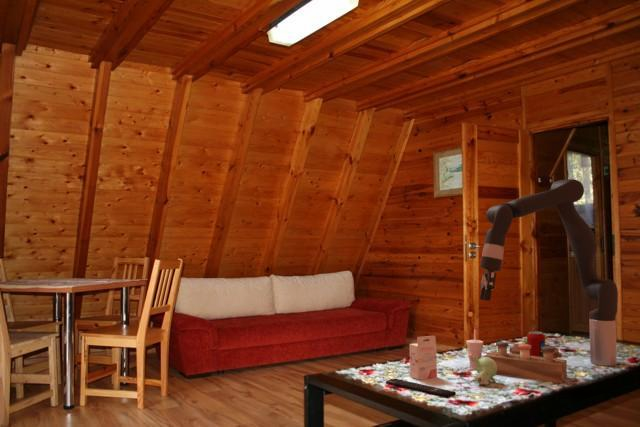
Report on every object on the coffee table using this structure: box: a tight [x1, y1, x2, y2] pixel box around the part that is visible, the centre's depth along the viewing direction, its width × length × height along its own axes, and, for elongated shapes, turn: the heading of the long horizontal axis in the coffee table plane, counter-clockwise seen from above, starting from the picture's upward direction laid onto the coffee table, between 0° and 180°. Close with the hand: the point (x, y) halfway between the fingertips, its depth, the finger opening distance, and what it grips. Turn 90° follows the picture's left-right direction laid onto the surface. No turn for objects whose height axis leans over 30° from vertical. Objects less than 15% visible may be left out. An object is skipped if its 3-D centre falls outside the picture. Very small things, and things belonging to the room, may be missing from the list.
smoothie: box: [465, 329, 484, 368], centre depth 206 cm, size 6×6×14 cm
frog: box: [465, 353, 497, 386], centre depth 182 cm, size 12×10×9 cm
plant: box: [508, 326, 560, 359], centre depth 231 cm, size 20×20×11 cm
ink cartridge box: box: [409, 335, 438, 381], centre depth 190 cm, size 9×5×15 cm, turn 117°
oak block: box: [484, 350, 568, 384], centre depth 193 cm, size 10×26×6 cm, turn 56°
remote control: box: [385, 378, 457, 399], centre depth 174 cm, size 5×24×1 cm, turn 45°
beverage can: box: [526, 330, 546, 357], centre depth 212 cm, size 7×7×12 cm
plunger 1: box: [495, 341, 509, 357], centre depth 198 cm, size 4×4×7 cm
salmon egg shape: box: [518, 343, 531, 359], centre depth 193 cm, size 4×4×7 cm
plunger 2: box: [541, 346, 555, 362], centre depth 189 cm, size 4×4×7 cm
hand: (484, 300), depth 198 cm, fingers open, 8 cm apart
